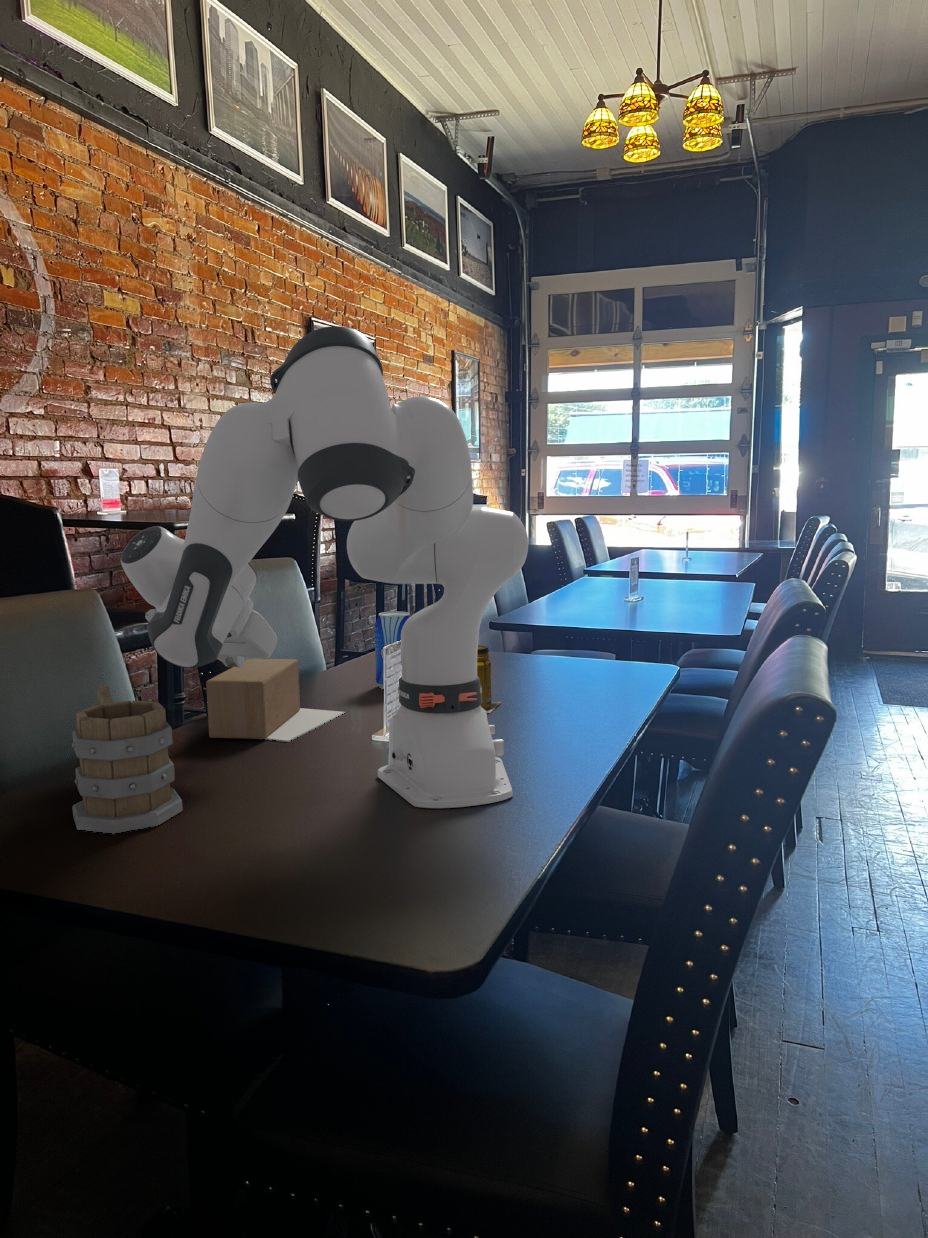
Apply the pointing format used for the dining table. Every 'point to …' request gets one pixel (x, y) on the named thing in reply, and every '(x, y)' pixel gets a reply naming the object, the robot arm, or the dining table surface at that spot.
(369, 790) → the dining table surface
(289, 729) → the mat
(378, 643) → the beer can
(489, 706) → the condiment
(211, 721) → the wooden block
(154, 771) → the tankard
